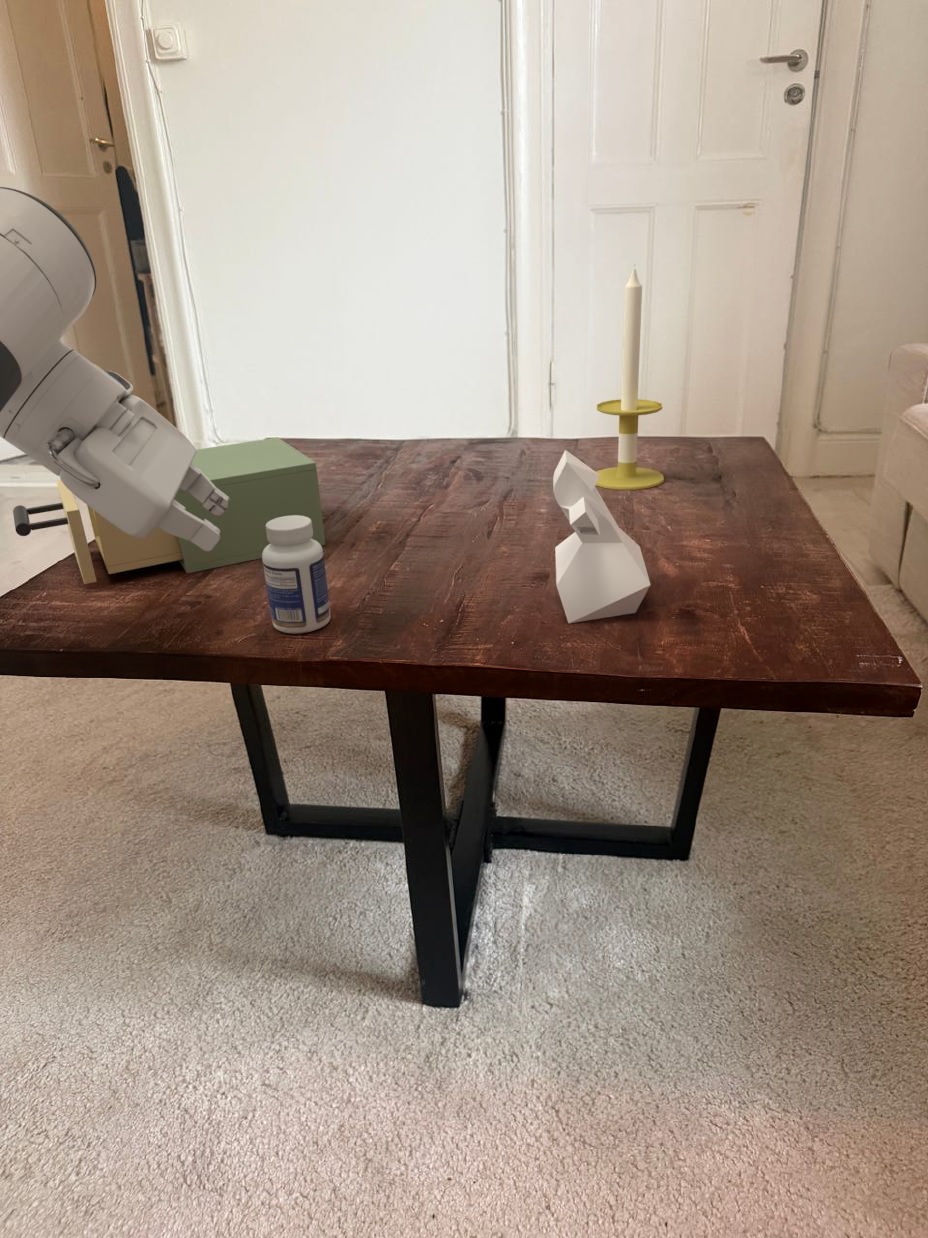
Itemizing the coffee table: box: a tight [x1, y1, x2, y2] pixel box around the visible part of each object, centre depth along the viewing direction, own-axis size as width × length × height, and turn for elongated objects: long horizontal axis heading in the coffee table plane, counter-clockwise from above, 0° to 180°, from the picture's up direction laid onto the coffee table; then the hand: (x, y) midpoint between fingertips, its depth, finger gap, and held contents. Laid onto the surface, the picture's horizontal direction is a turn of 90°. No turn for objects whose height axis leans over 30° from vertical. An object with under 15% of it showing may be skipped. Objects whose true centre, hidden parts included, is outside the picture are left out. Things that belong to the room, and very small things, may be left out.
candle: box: [595, 263, 665, 491], centre depth 111 cm, size 10×10×27 cm
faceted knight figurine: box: [552, 449, 651, 624], centre depth 79 cm, size 8×14×14 cm, turn 175°
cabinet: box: [174, 437, 326, 574], centre depth 99 cm, size 16×15×10 cm
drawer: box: [12, 479, 183, 585], centre depth 94 cm, size 19×13×8 cm
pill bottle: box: [261, 515, 332, 635], centre depth 77 cm, size 5×5×10 cm
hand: (221, 524), depth 74 cm, fingers open, 8 cm apart
